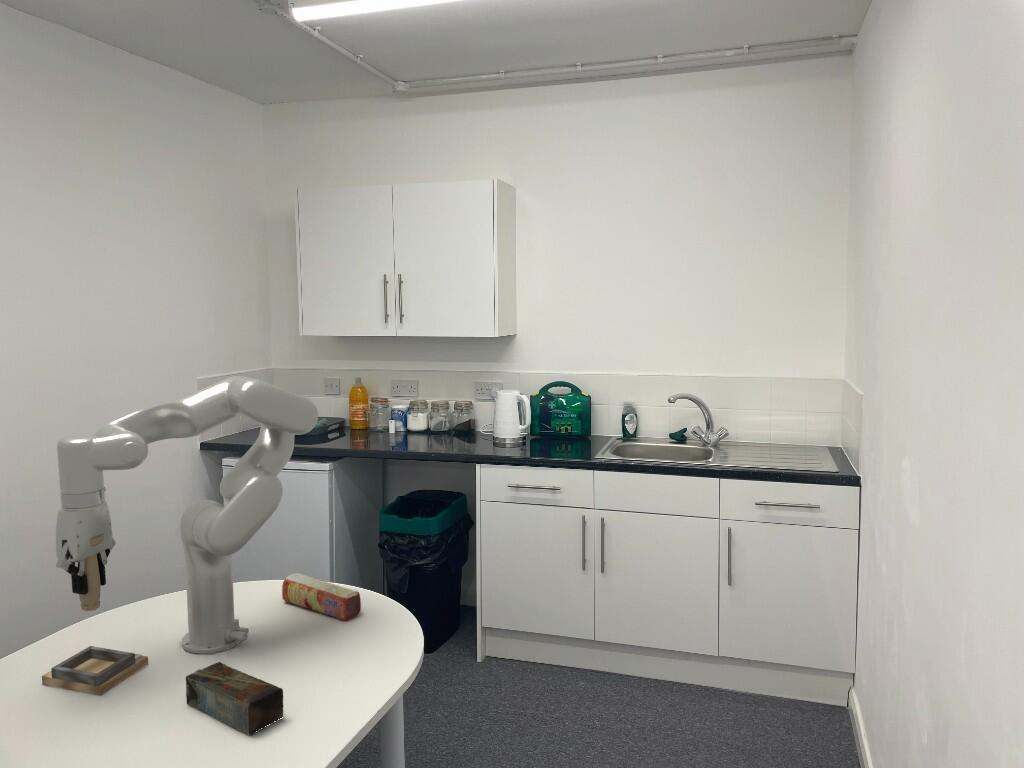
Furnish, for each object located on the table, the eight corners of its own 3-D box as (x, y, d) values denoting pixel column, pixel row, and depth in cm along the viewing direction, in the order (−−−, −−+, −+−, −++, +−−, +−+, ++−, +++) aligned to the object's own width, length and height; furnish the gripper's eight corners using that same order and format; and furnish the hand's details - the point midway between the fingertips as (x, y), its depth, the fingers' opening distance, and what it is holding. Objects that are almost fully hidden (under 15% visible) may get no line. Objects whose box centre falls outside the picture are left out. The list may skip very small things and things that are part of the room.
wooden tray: (148, 664, 171) (147, 647, 170) (100, 695, 158) (99, 677, 158) (92, 655, 174) (91, 638, 174) (42, 684, 162) (40, 666, 162)
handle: (99, 614, 160) (94, 540, 158) (67, 613, 161) (62, 539, 158) (113, 604, 165) (108, 532, 163) (82, 603, 165) (77, 531, 163)
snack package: (363, 614, 197) (363, 587, 196) (344, 624, 191) (343, 596, 190) (300, 594, 208) (299, 569, 207) (280, 603, 202) (279, 577, 201)
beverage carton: (221, 687, 162) (219, 656, 161) (286, 719, 151) (285, 685, 150) (185, 705, 156) (183, 672, 155) (250, 739, 145) (249, 704, 144)
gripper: (99, 485, 168) (105, 571, 171) (31, 509, 152) (39, 603, 155) (130, 489, 166) (135, 575, 169) (64, 512, 150) (71, 608, 153)
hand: (89, 587), depth 162 cm, fingers closed on handle, 3 cm apart
